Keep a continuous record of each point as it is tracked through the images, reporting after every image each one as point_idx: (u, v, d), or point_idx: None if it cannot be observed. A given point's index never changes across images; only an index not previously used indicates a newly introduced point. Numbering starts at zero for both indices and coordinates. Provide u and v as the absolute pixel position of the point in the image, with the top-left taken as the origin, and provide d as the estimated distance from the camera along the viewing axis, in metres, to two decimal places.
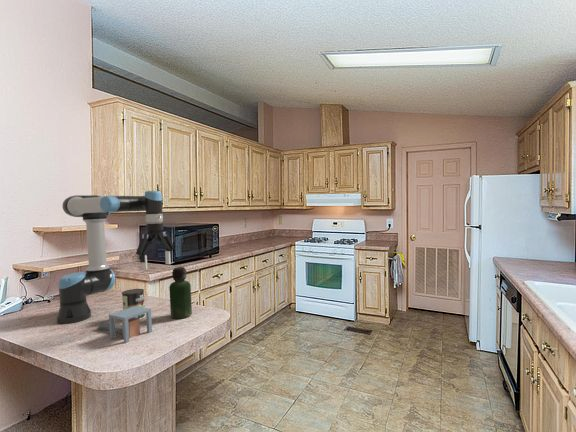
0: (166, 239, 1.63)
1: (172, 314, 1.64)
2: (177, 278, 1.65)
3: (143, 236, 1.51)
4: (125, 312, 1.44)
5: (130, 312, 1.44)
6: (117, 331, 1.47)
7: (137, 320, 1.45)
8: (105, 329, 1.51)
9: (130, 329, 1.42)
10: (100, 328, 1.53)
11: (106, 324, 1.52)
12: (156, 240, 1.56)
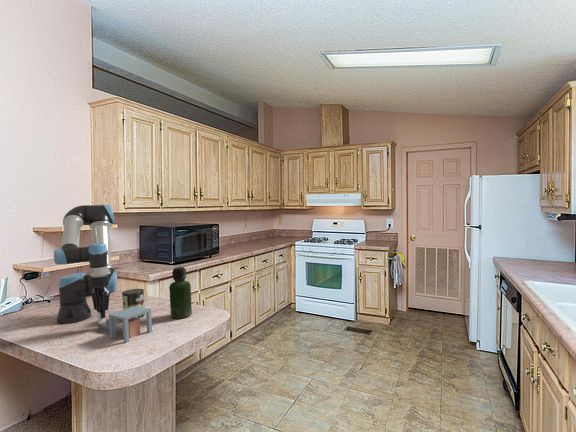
0: None
1: (172, 314, 1.64)
2: (177, 278, 1.65)
3: None
4: (125, 312, 1.44)
5: (130, 312, 1.44)
6: (118, 331, 1.47)
7: (137, 320, 1.45)
8: (105, 329, 1.50)
9: (130, 329, 1.42)
10: (100, 328, 1.52)
11: (107, 324, 1.51)
12: (97, 293, 1.54)
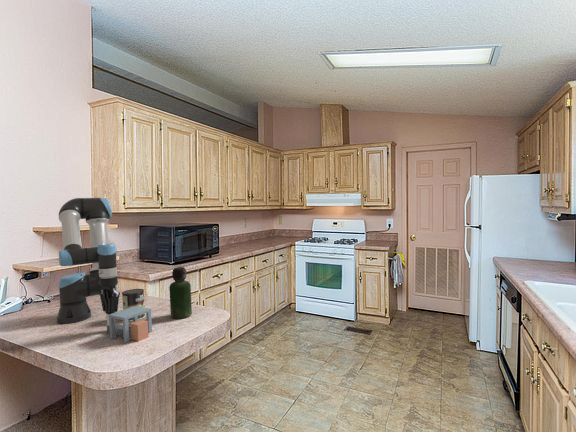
0: None
1: (172, 314, 1.64)
2: (177, 278, 1.65)
3: None
4: (125, 312, 1.44)
5: (130, 312, 1.44)
6: None
7: (145, 323, 1.41)
8: None
9: (138, 332, 1.38)
10: (109, 330, 1.48)
11: (115, 326, 1.48)
12: (106, 295, 1.51)
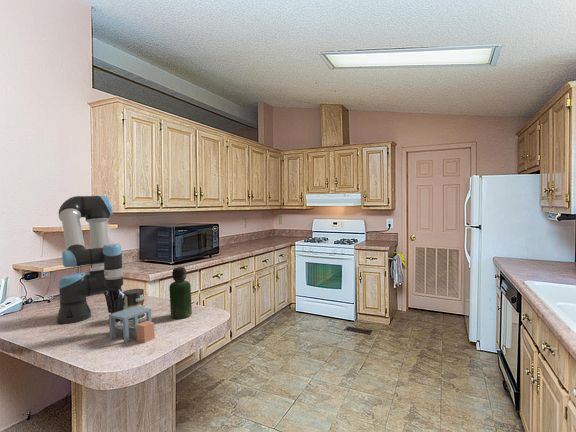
0: None
1: (172, 314, 1.64)
2: (177, 278, 1.65)
3: None
4: (125, 312, 1.44)
5: (130, 312, 1.44)
6: (132, 336, 1.41)
7: (151, 324, 1.39)
8: (120, 333, 1.45)
9: (145, 333, 1.36)
10: (115, 332, 1.47)
11: (121, 328, 1.46)
12: (112, 296, 1.49)
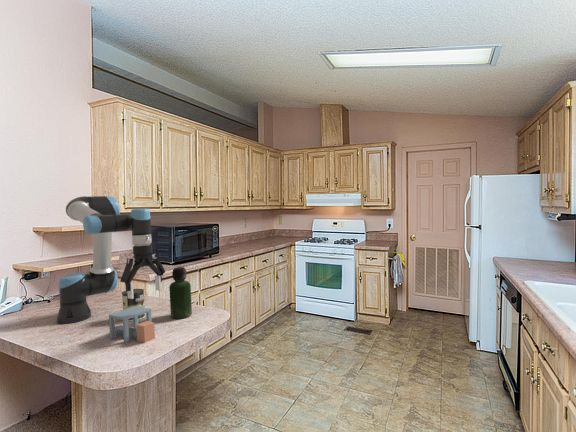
0: (156, 262, 1.45)
1: (172, 314, 1.64)
2: (177, 278, 1.65)
3: (129, 261, 1.32)
4: (125, 312, 1.44)
5: (130, 312, 1.44)
6: (132, 336, 1.41)
7: (152, 324, 1.39)
8: (120, 333, 1.45)
9: (145, 334, 1.36)
10: (115, 332, 1.47)
11: (121, 328, 1.47)
12: (144, 264, 1.38)
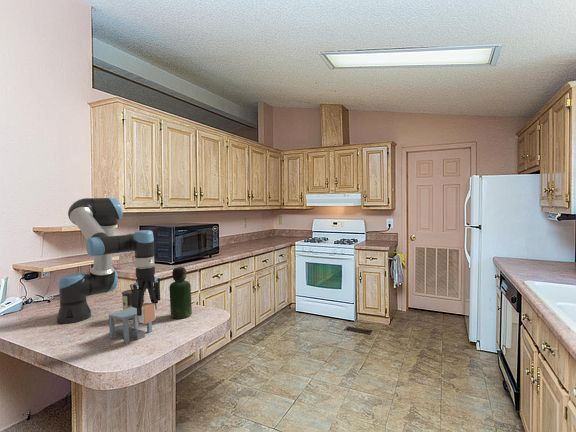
0: (155, 287, 1.43)
1: (172, 314, 1.64)
2: (177, 278, 1.65)
3: (133, 288, 1.33)
4: (125, 312, 1.44)
5: (130, 312, 1.44)
6: (131, 336, 1.41)
7: (152, 306, 1.40)
8: (120, 333, 1.46)
9: (145, 315, 1.37)
10: (115, 331, 1.48)
11: (121, 327, 1.47)
12: (146, 286, 1.38)
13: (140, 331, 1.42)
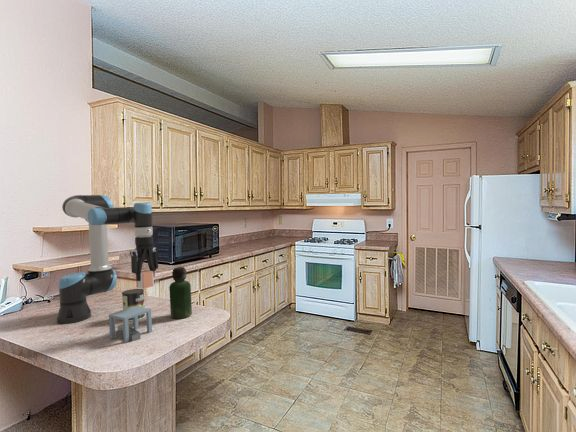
0: (153, 256, 1.54)
1: (172, 314, 1.64)
2: (177, 278, 1.65)
3: (132, 254, 1.44)
4: (125, 312, 1.44)
5: (130, 312, 1.44)
6: None
7: (150, 272, 1.51)
8: (121, 332, 1.47)
9: (144, 280, 1.48)
10: (119, 330, 1.49)
11: None
12: (145, 254, 1.49)
13: (136, 332, 1.40)
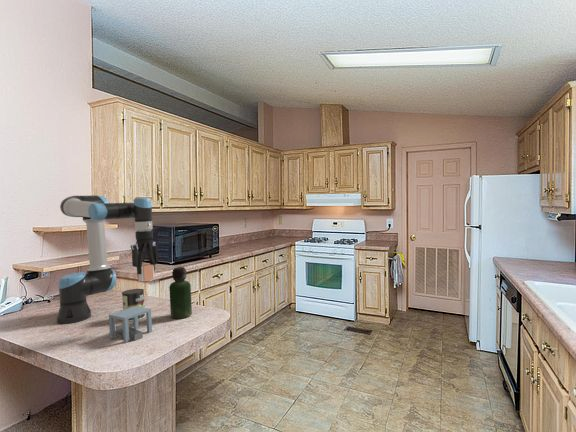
0: (153, 250, 1.57)
1: (172, 314, 1.64)
2: (177, 278, 1.65)
3: (133, 248, 1.47)
4: (125, 312, 1.44)
5: (130, 312, 1.44)
6: (130, 336, 1.41)
7: (150, 266, 1.54)
8: (121, 332, 1.46)
9: (144, 273, 1.51)
10: (117, 331, 1.48)
11: (122, 327, 1.48)
12: (145, 248, 1.52)
13: (138, 332, 1.41)
